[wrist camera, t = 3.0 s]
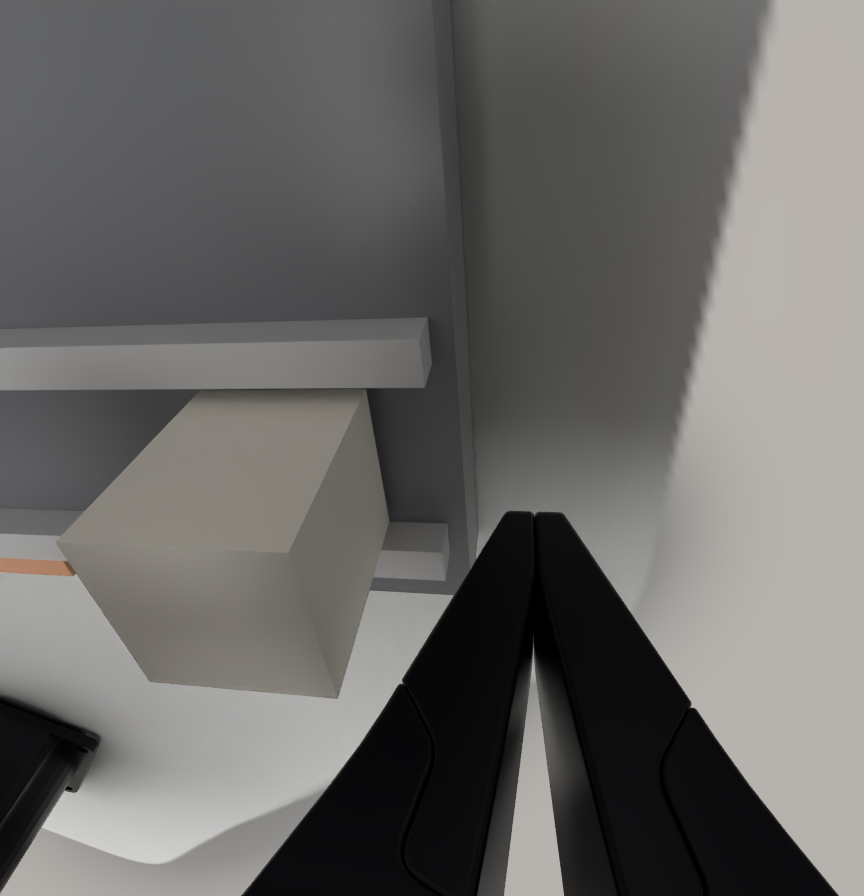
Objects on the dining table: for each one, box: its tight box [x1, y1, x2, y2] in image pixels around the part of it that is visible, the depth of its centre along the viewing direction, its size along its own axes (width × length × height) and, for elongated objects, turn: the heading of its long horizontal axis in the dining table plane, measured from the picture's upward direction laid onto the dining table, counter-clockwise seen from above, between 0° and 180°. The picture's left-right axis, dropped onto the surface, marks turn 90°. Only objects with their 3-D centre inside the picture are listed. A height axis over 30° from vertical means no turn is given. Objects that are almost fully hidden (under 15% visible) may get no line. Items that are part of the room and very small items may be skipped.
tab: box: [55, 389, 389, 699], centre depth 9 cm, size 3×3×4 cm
